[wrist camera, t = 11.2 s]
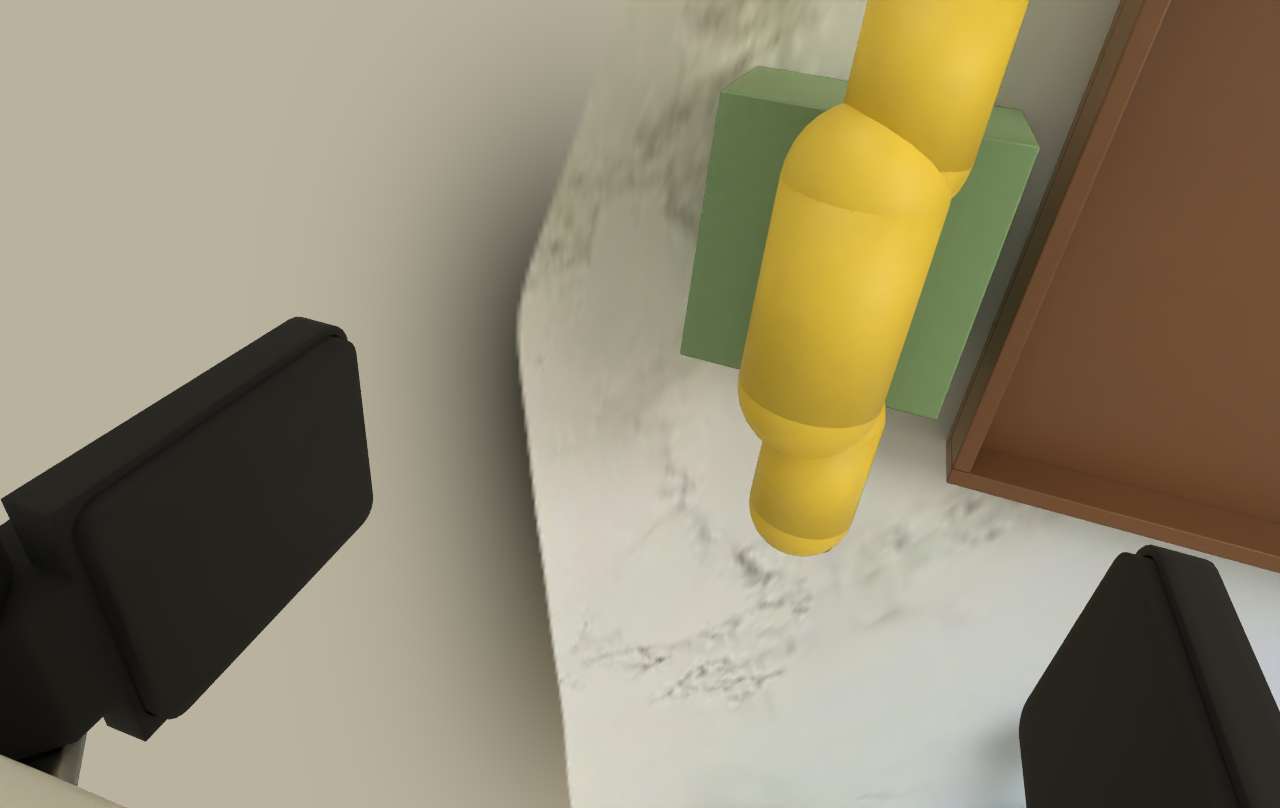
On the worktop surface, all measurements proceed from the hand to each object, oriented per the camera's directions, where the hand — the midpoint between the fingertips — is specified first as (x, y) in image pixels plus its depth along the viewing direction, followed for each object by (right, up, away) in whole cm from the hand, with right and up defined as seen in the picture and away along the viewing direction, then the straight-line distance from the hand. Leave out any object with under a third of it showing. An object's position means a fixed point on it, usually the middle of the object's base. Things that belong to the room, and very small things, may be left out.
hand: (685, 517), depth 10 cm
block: (+6, +8, +16) cm, 19 cm away
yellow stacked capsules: (+5, +5, +12) cm, 14 cm away
